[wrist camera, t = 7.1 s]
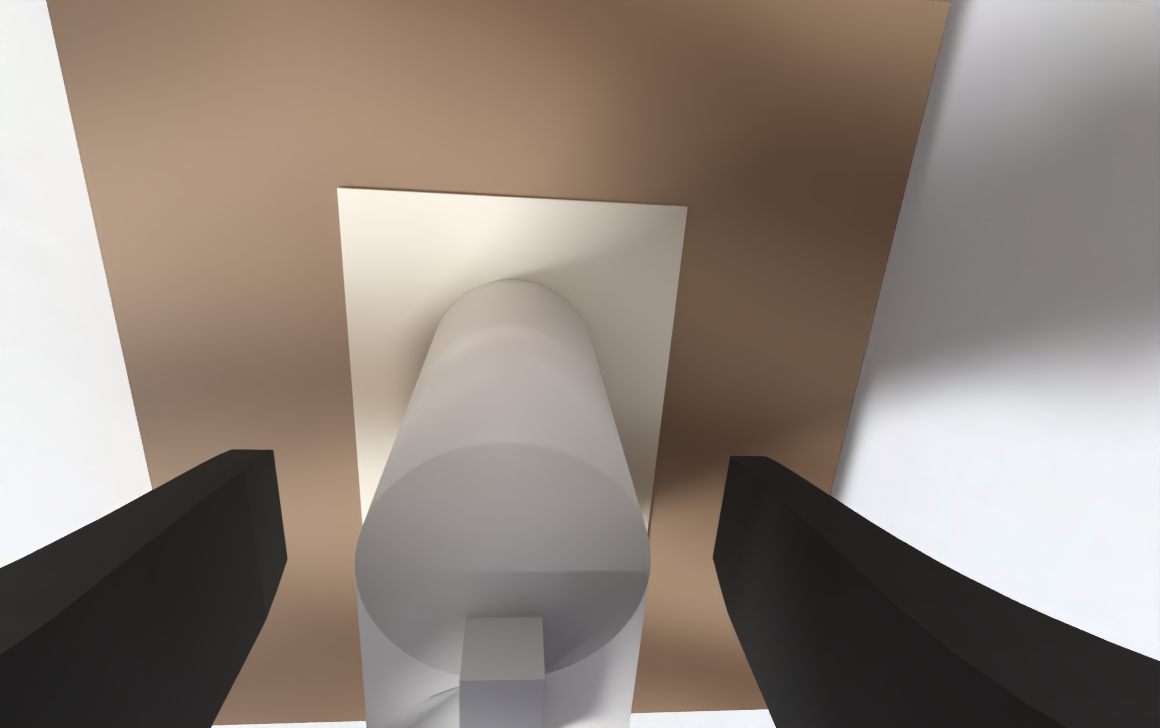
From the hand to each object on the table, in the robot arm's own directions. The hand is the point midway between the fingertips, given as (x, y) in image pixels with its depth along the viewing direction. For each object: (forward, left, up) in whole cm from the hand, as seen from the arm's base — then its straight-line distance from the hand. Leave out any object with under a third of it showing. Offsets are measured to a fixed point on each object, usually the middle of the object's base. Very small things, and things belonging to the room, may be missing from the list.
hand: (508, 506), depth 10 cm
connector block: (0, 0, -3) cm, 3 cm away
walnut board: (0, 0, -4) cm, 4 cm away
